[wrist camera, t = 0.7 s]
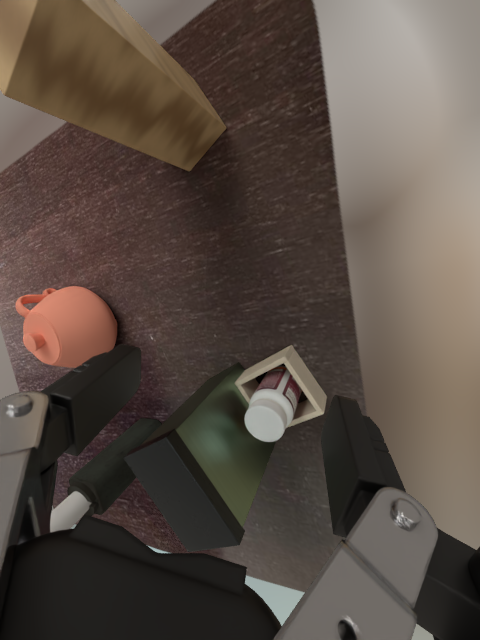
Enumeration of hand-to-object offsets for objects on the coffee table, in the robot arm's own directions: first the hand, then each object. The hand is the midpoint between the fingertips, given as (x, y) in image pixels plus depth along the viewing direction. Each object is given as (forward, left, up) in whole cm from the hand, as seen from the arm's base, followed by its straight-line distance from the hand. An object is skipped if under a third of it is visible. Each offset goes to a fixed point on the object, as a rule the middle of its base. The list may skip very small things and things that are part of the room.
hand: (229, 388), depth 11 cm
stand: (0, -22, -20) cm, 30 cm away
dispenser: (+15, +8, -20) cm, 26 cm away
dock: (+8, +8, -20) cm, 23 cm away
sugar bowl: (+30, -15, -20) cm, 40 cm away
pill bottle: (+8, +8, -20) cm, 23 cm away
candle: (+34, +6, -20) cm, 40 cm away
